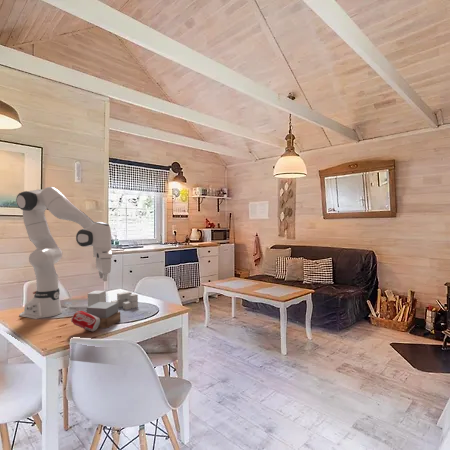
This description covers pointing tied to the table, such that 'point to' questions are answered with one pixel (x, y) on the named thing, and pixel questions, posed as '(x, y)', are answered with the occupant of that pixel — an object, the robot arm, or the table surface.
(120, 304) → the puzzle cube
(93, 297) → the supplement box
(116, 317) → the tower bottom
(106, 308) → the tower top
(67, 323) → the table surface
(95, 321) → the soda can
